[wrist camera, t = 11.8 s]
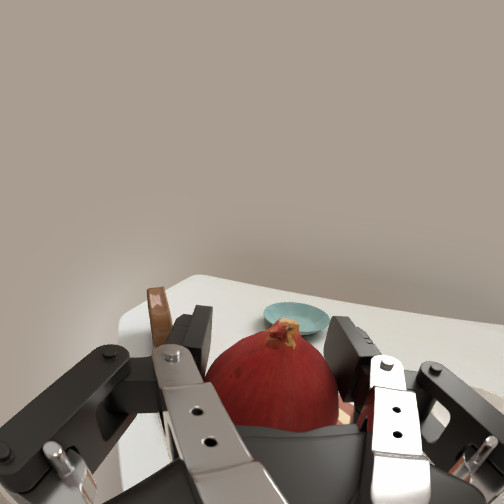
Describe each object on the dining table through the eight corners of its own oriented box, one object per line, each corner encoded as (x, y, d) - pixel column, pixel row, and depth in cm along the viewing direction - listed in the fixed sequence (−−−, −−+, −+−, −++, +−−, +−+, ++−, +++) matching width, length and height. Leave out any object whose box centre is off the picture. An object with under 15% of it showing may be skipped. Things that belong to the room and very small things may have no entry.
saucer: (261, 339, 45) (263, 327, 44) (262, 309, 56) (264, 298, 56) (333, 345, 44) (336, 333, 44) (321, 315, 56) (323, 304, 55)
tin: (180, 384, 32) (179, 325, 30) (155, 386, 31) (150, 326, 29) (166, 326, 45) (166, 278, 43) (147, 326, 44) (146, 278, 42)
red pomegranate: (195, 417, 14) (199, 283, 12) (295, 413, 15) (326, 288, 13) (202, 505, 8) (205, 366, 6) (330, 488, 9) (399, 353, 8)
